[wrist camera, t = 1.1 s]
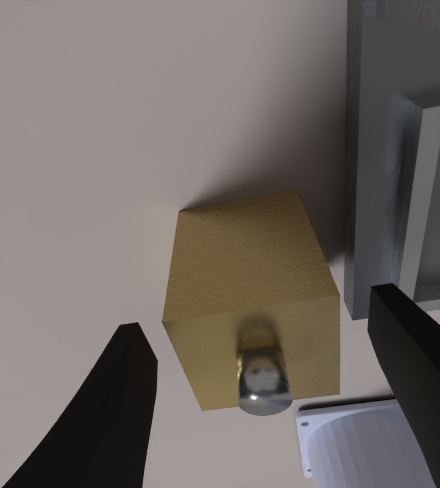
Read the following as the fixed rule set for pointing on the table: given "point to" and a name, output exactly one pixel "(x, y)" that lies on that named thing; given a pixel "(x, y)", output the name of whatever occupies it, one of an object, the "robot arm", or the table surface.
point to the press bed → (392, 151)
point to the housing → (253, 305)
